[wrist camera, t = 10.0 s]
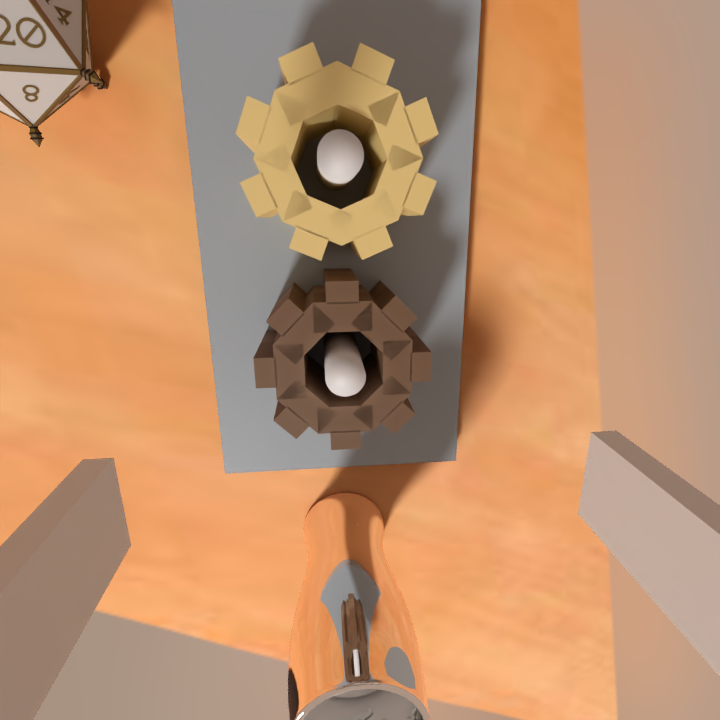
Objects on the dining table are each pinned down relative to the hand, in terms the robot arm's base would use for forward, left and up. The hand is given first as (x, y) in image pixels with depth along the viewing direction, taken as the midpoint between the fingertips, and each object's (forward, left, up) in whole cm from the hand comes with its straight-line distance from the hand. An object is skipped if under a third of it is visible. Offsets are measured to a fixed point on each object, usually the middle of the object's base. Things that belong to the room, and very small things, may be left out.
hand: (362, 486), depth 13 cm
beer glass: (+15, 0, -19) cm, 24 cm away
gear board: (-5, 0, -19) cm, 19 cm away
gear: (-10, 0, -17) cm, 20 cm away
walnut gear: (0, 0, -17) cm, 17 cm away
